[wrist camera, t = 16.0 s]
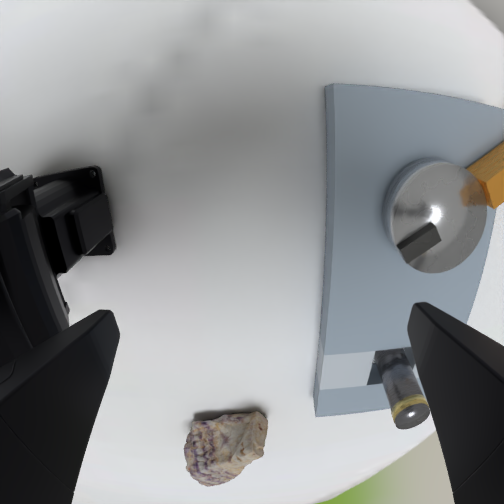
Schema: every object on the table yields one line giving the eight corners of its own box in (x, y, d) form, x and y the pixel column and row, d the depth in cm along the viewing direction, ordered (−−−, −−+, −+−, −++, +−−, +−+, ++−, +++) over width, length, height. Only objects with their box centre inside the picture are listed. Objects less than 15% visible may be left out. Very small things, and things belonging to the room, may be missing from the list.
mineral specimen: (206, 387, 28) (196, 440, 22) (276, 406, 29) (277, 458, 23) (179, 443, 33) (170, 485, 28) (234, 457, 34) (230, 499, 28)
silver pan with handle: (363, 194, 17) (377, 208, 14) (520, 89, 13) (545, 92, 10) (406, 276, 19) (422, 297, 16) (545, 171, 15) (568, 181, 12)
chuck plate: (313, 396, 28) (315, 417, 26) (325, 86, 17) (333, 83, 15) (426, 382, 27) (433, 400, 25) (483, 106, 16) (504, 109, 14)
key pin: (368, 359, 26) (391, 432, 18) (373, 336, 24) (400, 411, 17) (396, 356, 25) (423, 425, 18) (402, 333, 24) (435, 403, 17)
